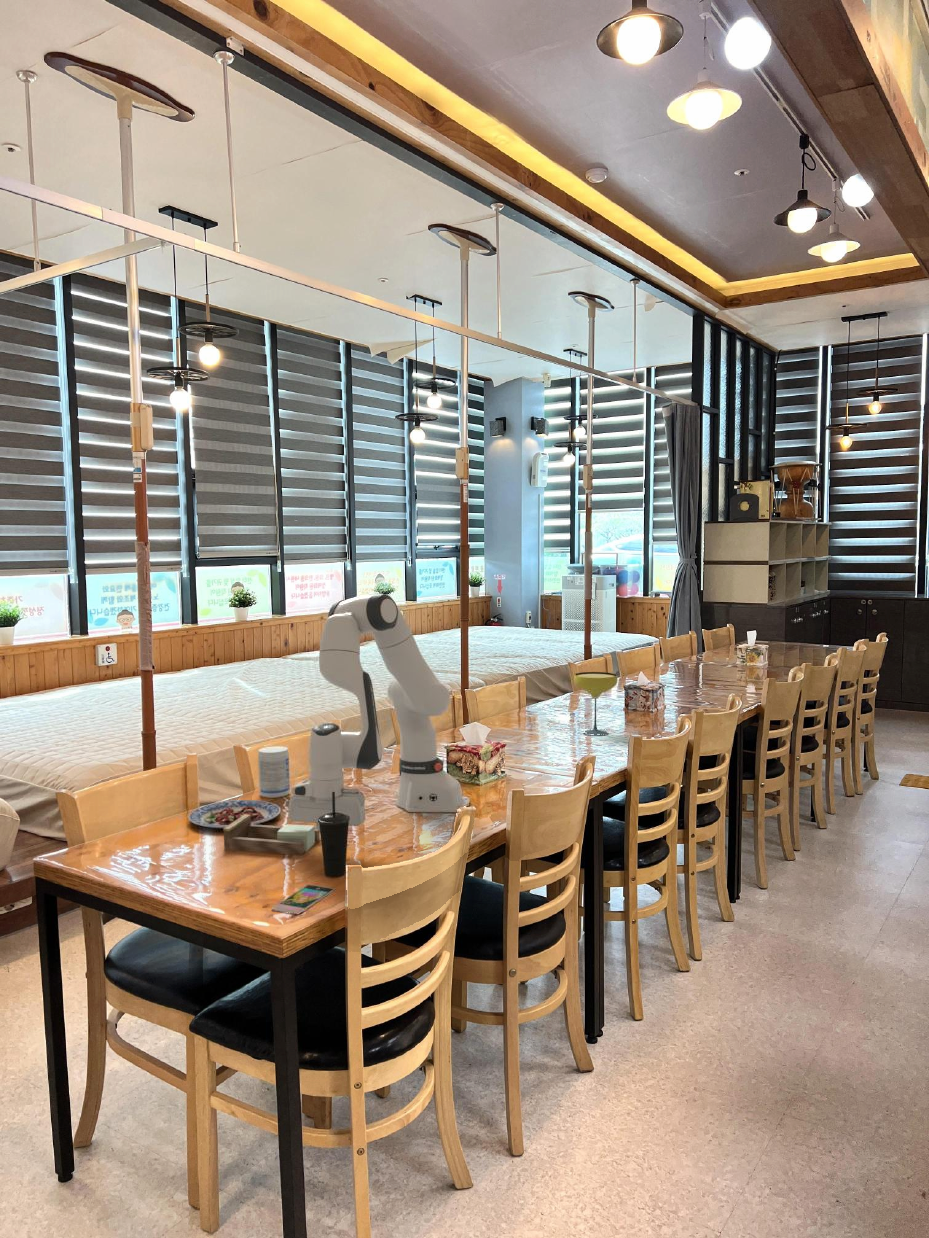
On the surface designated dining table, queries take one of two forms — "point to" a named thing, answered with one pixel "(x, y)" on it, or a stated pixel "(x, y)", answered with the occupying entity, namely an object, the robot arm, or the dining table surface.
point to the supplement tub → (273, 771)
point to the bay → (243, 828)
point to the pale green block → (298, 834)
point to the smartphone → (303, 899)
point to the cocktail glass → (595, 688)
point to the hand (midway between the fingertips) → (327, 839)
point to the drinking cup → (334, 841)
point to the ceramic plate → (233, 812)
